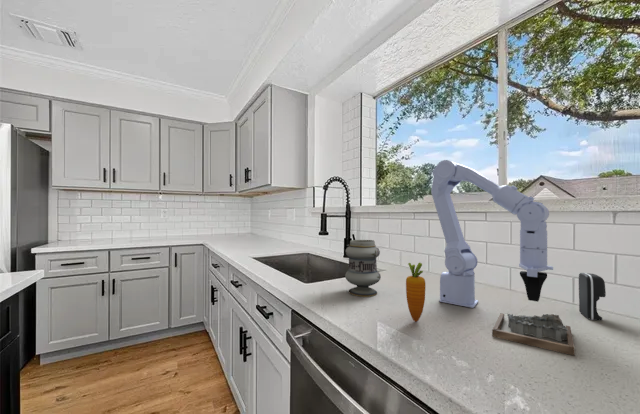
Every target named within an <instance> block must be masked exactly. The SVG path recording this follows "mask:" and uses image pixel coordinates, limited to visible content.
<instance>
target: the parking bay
mask: <svg viewBox="0 0 640 414" xmlns="http://www.w3.org/2000/svg"><path fill="white" fill-rule="evenodd" d="M504 322H505V313H502V312H501V313H500V314H499V315H498V317H497V320H496V322H495V324H494V325H493V327H492V329H491V331H492V332H491V333H492V334H491V336H492V337H494V338H498V339H502V340H506V341H510V342H511V341H512V342H515V343H519V344H523V345H527V346H531V347H536V348H541V349H545V350H549V351H554V352H556V353H557V352H558V353H561V354H567V355H570V356H573V357H574V356H576V355H575V344H574V338H573V334H572V329H571V326H570V325H565V327H566V328H567V330H568V331H567V340H566V343H567V344H565V343H560V342H555V341H553V340H552V341H551V340H546V339H543V338H538V337H535V336H534V337H533V336H529V335H526V334H524V335H520V334H517V333H515V332H512V331H506V330H502V329H501V328H502V327H503V324H504Z"/></svg>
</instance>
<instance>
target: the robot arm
mask: <svg viewBox="0 0 640 414" xmlns="http://www.w3.org/2000/svg"><path fill="white" fill-rule="evenodd" d="M431 174H432V175H433V179H432V184H431V188H430V189H431V191H430V193H431V196H432V200H433V204H434V207H435V209H436V212H437V217H438V219H439V223H440V226H441V230H442V233H443V236H444V239H445V245H446V246H445V247H444V248H445V249H444V251H443V252H444V256H445V258H444V266H445V268H446V270H447V271H442V272H441V274H440V276H439V300H438V302H439V303H445V304H451V305H456V306H462V307H466V308H471V309H473V308H475V306H476V305H477V304H478V303H479V300H478V299H476V298H475V297H476V295H475V293H476V291H475V290H476V286H475V283H476V282H475V281H476V279H475V278H476V277H475V271H474V269H476V268H477V265H478V263H479V262H478V258H477V255H476V254H474V252H473V251H472V249H471V246H470V245H469V244H468V242H466V240H465V237H464V235H463V232H462V228H461V227H462V226H461V225H460V221H459V219H458V218H459V217H458V216H457V212H456V209H455V205H454V203H453V199H452V195H451V193H452V192H453V190H454V188H455V187H457V185H459V184H460V183H461V182H469V183H471V184H472V185H474V186H476V187H478V188H479V189H481V190H483V191H485V192H486V193H488V194H490V195H491V197H492V201H493V202H494V203H496V204H497V205H498V206H500V207H501V208H502V209H503V208H504V209H505V210H506V211H507V212H510V213H511V214H512V215H516V217H517V219H518V220H519V222H520V230H519V264H518V267H519V268H521V269H522V271H520V272H519V276H520V278H521V279H522V281H523V283H524V286H525V287H524V288H525V292H526V297H527V300H528V301H532V302H539V301H540V298H541V293H542V287H543V285H544V284H545V281H546V280H547V278H548V273H547V272H545V271H548V270H549V271H550V270H551V271H553V270H554V266H553V265H548V230H547V227H548V224H547V220H548V218H549V216H550V211H549V208H548V207H547V206H546V205H545V204H543V202H539V201H534V200H535V197H534V196H528V195H526V194H524V193H522V192H520V191H519V190H518V189H519V188H518V187H517V186H515V185H511V186H510V185H509V184H504V185H499V184H497V183H496V182H494V181H493V180H491V179H490V178H488V177H487V176H485V175H484V174H482V173H480V172H478V171H477V170H475V169H474V168H471V167H469V166H466V165H464V164H461V163H460V162H458V163H457V162H454V161H452V160H450V159H449V160H448V159H444V160H441V161H439V162H438V163H437V164H436V166H435V167H434V169H433V170H432V173H431ZM523 270H524V271H523Z"/></svg>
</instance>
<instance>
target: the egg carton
mask: <svg viewBox="0 0 640 414" xmlns="http://www.w3.org/2000/svg"><path fill="white" fill-rule="evenodd" d="M507 317H508V323H507V324H508V327H510V329H509V330H510V332H511V333H516V334H520V335H530V336H534V337H535V338H538V339H543V338H549V339H553V340H554V341H558V342H563V341H567V331H568V330H567V328H566V325H564V323H563V321H562V319H561V318H560V315H559V314H548V313H546V314H543V313H542V315H541V316H538V315H531V316H530V315H529V316H528V315H514V314H513V313H512V314H511V313H507Z"/></svg>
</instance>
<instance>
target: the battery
mask: <svg viewBox="0 0 640 414" xmlns="http://www.w3.org/2000/svg"><path fill="white" fill-rule="evenodd" d="M603 278H604V277H602V276H600V275H597V274H595V273H589V272H579V274H578V305H579V306H578V310H579V313H580V314H581V315H582V316H584V317H585V318H586V319H587V320H591V321H602V320H603V317H602V316H601V315H600V314H599V313H598V309H597V307H598V306H597V302H598V301H599V300H600V298H606V295H607V293H606V283H605V280H604V279H603Z"/></svg>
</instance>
